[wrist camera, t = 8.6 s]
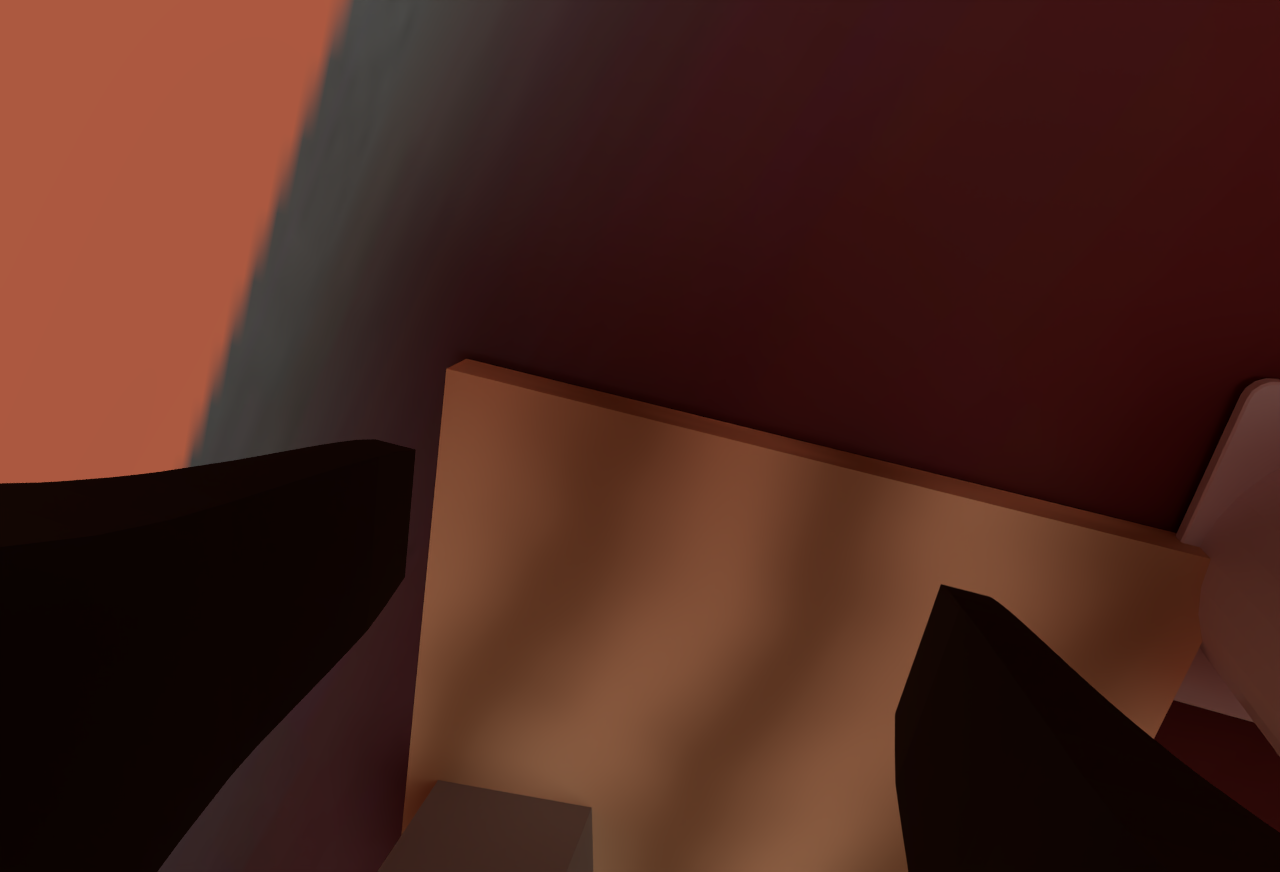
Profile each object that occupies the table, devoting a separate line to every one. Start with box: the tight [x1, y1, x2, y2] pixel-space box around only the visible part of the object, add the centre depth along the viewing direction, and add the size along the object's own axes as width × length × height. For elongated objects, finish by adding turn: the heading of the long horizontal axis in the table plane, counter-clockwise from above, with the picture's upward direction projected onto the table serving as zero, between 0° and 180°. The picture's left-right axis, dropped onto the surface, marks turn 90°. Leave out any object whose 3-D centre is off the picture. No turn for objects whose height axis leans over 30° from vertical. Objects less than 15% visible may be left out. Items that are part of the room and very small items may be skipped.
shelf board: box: [402, 359, 1211, 872], centre depth 23 cm, size 19×22×4 cm
